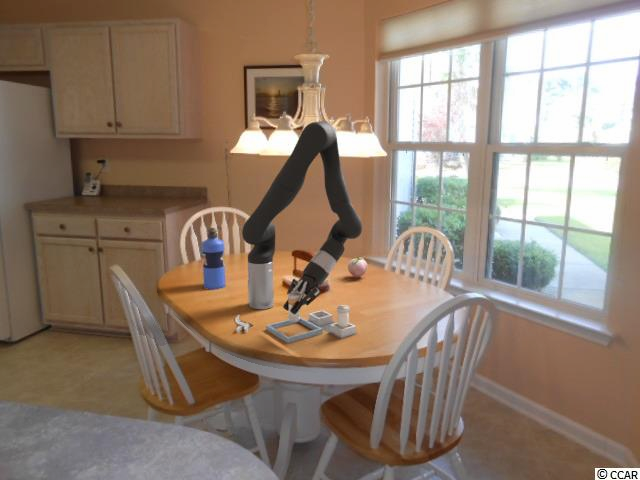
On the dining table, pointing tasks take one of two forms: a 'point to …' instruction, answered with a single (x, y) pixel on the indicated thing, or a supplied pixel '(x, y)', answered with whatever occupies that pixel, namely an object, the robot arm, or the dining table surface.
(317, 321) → the fuse holder
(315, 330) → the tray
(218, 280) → the water bottle
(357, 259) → the decorative fruit
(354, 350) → the dining table surface
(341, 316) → the fuse
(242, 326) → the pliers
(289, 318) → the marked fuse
